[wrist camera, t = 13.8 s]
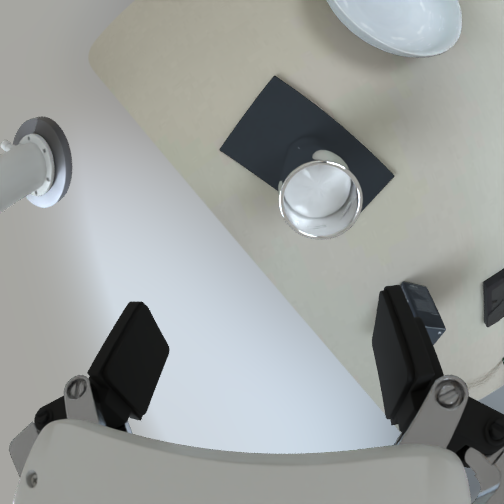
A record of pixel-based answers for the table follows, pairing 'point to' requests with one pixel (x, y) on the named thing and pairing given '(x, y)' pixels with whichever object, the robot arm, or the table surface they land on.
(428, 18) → the cereal bowl
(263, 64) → the table surface
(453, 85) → the table surface
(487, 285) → the picture frame
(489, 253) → the table surface
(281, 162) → the placemat
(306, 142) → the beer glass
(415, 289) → the box
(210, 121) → the table surface
